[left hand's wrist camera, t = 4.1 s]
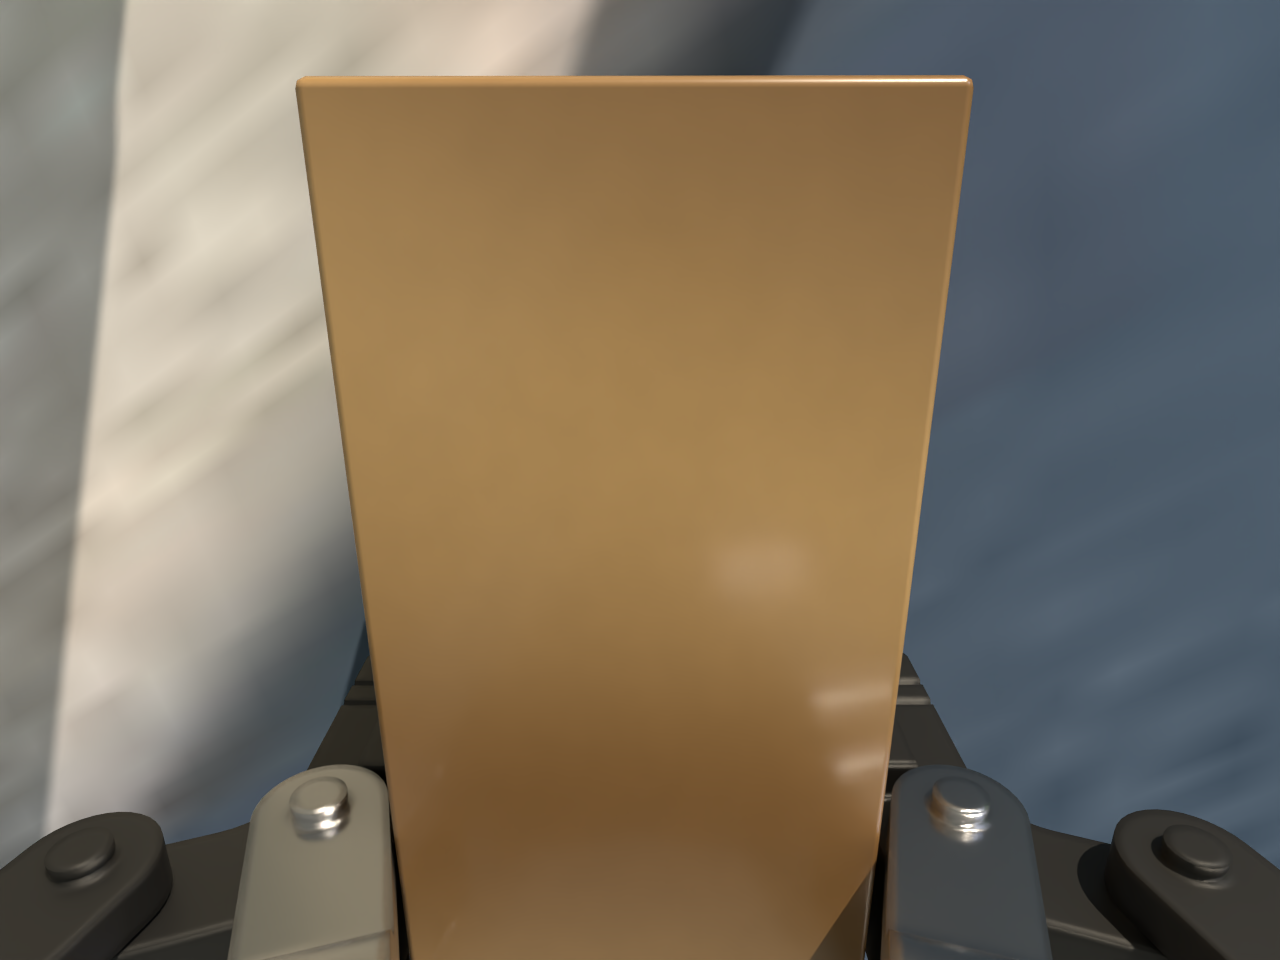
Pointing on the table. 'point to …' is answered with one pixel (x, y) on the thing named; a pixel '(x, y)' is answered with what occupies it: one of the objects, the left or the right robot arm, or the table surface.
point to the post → (635, 488)
